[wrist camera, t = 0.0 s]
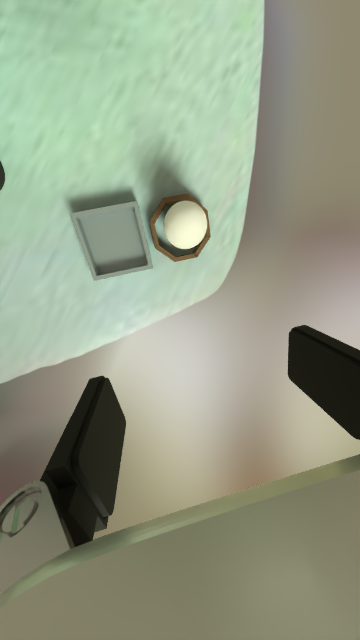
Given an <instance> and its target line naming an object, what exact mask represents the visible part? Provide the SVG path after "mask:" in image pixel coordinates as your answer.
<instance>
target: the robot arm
mask: <svg viewBox="0 0 360 640" xmlns="http://www.w3.org/2000/svg"><path fill="white" fill-rule="evenodd" d="M288 350H289V351H288V376H289V378H290V380H291V381H292V382H293V383H294V384H296V385H297V386H298V387H299V388H300V389H301V390H302V391H303V392H304V393H305V394H306V395H308V396H309V397H310V398H311V399H312V400H313V401H314V402H315V403H316V404H317V405H319V406H320V407H321V408H322V409H323V410H324V411H325V412H326V413H327V414H328V415H330V416H331V417H332V418H333V419H334V420H335V421H336V422H337V423H338V424H339V425H340V426H342V427H343V428H344V429H345V430H346V431H347V432H348V433H349V434H350V435H351V436H353V437H354V438H356V439H359V440H360V350H358V349H356V348H353V347H351V346H349V345H347V344H345V343H343V342H341V341H339V340H337V339H334V338H332V337H330V336H328V335H326V334H323V333H322V332H319V331H317V330H315V329H313V328H311V327H309V326H306V325H302V326H298V327H294V328H292V330H291V331H290V332H289V349H288ZM125 427H126V420H125V416H124V414H123V412H122V409H121V407H120V404H119V402H118V400H117V397H116V395H115V392H114V390H113V388H112V385H111V383H110V380H109V379H108V378H105V377H104V376H99V377H96V378H92V379H90V380H89V381H88V384H87V386H86V388H85V390H84V392H83V394H82V396H81V398H80V400H79V402H78V404H77V406H76V408H75V410H74V412H73V414H72V416H71V418H70V420H69V422H68V424H67V426H66V428H65V430H64V432H63V434H62V436H61V438H60V441H59V443H58V444H57V446H56V448H55V451H54V453H53V455H52V457H51V459H50V461H49V463H48V465H47V467H46V469H45V471H44V473H43V475H42V478H41V479H40V481H36V482H31V483H29V484H27V485H25V486H23V487H22V488H20V489H19V490H17V491H16V492H15V493H13V494H12V495H11V496H10V497H9V498H8V499H7V500H6V501H5V502H4V503H3V504H2V505H1V506H0V640H360V454H359V455H357V456H353V457H350V458H346V459H343V460H340V461H337V462H333V463H330V464H327V465H323V466H320V467H317V468H314V469H310V470H308V471H304V472H301V473H298V474H294V475H291V476H288V477H285V478H281V479H278V480H275V481H272V482H269V483H265V484H262V485H259V486H256V487H253V488H249V489H246V490H243V491H240V492H237V493H233V494H230V495H227V496H224V497H221V498H218V499H215V500H211V501H208V502H206V503H202V504H199V505H196V506H192V507H189V508H186V509H183V510H180V511H177V512H174V513H170V514H167V515H164V516H161V517H158V518H155V519H152V520H149V521H146V522H143V523H140V524H137V525H135V526H132V527H129V528H126V529H123V530H120V531H117V532H114V533H111V534H108V535H105V536H102V537H99V538H97V539H95V540H93V535H94V532H97V531H100V530H103V529H106V528H107V522H108V516H110V515H112V513H113V509H114V504H115V496H116V490H117V482H118V475H119V468H120V462H121V455H122V448H123V441H124V435H125Z"/></svg>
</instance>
